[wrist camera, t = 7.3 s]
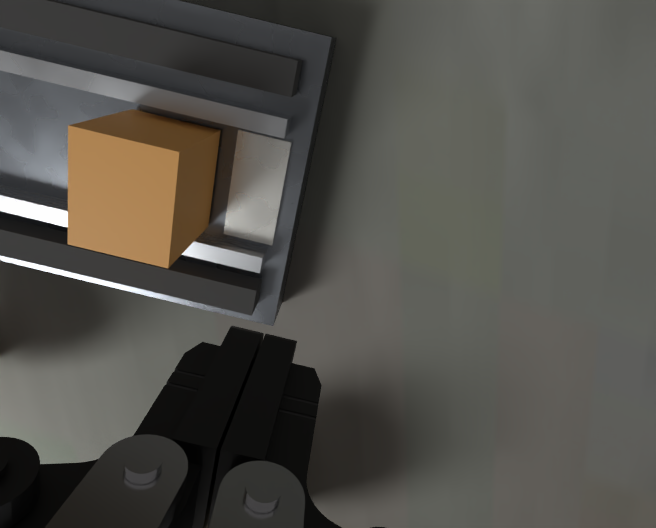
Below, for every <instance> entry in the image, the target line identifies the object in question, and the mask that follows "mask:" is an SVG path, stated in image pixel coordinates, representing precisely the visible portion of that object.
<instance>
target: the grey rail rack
mask: <svg viewBox="0 0 656 528" xmlns="http://www.w3.org/2000/svg"><path fill="white" fill-rule="evenodd" d="M0 27H1V28H5V29H9V30H14V31H18V32H22V33H26V34H30V35H34V36H38V37H43V38H47V39H51V40H55V41H59V42H63V43H68V44H72V45H76V46H80V47H84V48H88V49H92V50H97V51H101V52H105V53H109V54H113V55H117V56H122V57H126V58H130V59H134V60H138V61H142V62H146V63H151V64H155V65H159V66H163V67H167V68H171V69H176V70H180V71H184V72H188V73H192V74H196V75H200V76H205V77H209V78H213V79H217V80H221V81H225V82H230V83H234V84H238V85H242V86H246V87H250V88H254V89H259V90H263V91H267V92H271V93H275V94H279V95H284V96H288V97H293V96H294V95H296V93H297V87H298V82H299V76H300V71H301V65H302V60H300V59H296V58H292V57H288V56H284V55H280V54H276V53H271V52H267V51H263V50H259V49H255V48H251V47H246V46H242V45H238V44H234V43H230V42H226V41H222V40H217V39H213V38H209V37H205V36H201V35H197V34H193V33H188V32H184V31H180V30H176V29H172V28H168V27H163V26H159V25H155V24H151V23H147V22H143V21H139V20H134V19H130V18H126V17H122V16H118V15H114V14H109V13H105V12H101V11H97V10H93V9H89V8H85V7H80V6H76V5H72V4H68V3H64V2H60V1H56V0H0ZM0 255H1V256H5V257H9V258H13V259H17V260H21V261H26V262H30V263H34V264H38V265H42V266H46V267H51V268H55V269H59V270H63V271H67V272H71V273H76V274H80V275H84V276H88V277H92V278H96V279H101V280H105V281H109V282H113V283H117V284H121V285H126V286H130V287H134V288H138V289H142V290H146V291H151V292H155V293H159V294H163V295H167V296H171V297H176V298H180V299H184V300H188V301H192V302H196V303H201V304H205V305H209V306H213V307H217V308H221V309H226V310H230V311H234V312H238V313H242V314H246V315H251V316H252V314H253V312H254V310H255V308H256V306H257V304H258V299H259V294H260V289H261V283H262V279H259V278H254V277H250V276H246V275H242V274H238V273H234V272H230V271H225V270H221V269H217V268H213V267H209V266H205V265H200V264H196V263H192V262H188V261H184V260H180V259H177V260H176V261H175V262H174V263H173V264H172V265H171V266H170V267H169V268H164V267H160V266H156V265H152V264H147V263H143V262H139V261H135V260H131V259H127V258H122V257H118V256H114V255H110V254H106V253H102V252H97V251H93V250H89V249H85V248H81V247H77V246H72V245H68V233H67V232H63V231H59V230H55V229H50V228H46V227H42V226H38V225H34V224H30V223H25V222H21V221H17V220H13V219H9V218H5V217H0Z"/></svg>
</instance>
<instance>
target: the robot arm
mask: <svg viewBox="0 0 656 528" xmlns="http://www.w3.org/2000/svg"><path fill="white" fill-rule="evenodd" d="M296 343H297V341H294V340H290V339H286V338H282V337H278V336H273V335H269V334H265V336H264V339H263V333H260V332H256V331H252V330H248V329H244V328H239V327H235V326H231V327H230V329H229V331H228V333H227V335H226V337H225V339H224V341H223V343H222V345H221V346H217V345H213V344H209V343H205V342H202V343H200V344H198V345H197V346H195V347H194V348H192V349H191V350H189V351H187V352H186V353H185V354H184V355H183V357H182V359H181V360H180V362H179V363H178V365H177V367H176V368H175V371H174V372H173V373H172V375H171V376H170V378H169V379H168V381H167V384H166V385H165V386H164V387H163V389H162V391H161V392H160V394H159V395H158V397H157V399H156V400H155V402H154V403H153V405H152V407H151V408H150V410H149V412H148V413H147V415H146V416H145V418H144V420H143V421H142V423H141V424H140V426H139V428H138V429H137V431H136V432H135V434H134V435H133V436H131V437H128V438H125V439H123V440H120V441H118V442H117V443H115V444H113V445H112V446H111V447H109V448H108V449H107V450H106V451H105V452H104V453H103V454H102V455H101V457H100V458H99V459H97V460H93V461H88V462H81V463H63V464H40V460H39V455H38V453H37V451H36V450H35V449H34V447H32V446H31V445H30V444H29V443H27V442H25V441H23V440H19V439H16V438H10V437H0V528H206V527H207V528H341V527H340V526H338V525H336V524H334V523H333V522H331V521H330V520H328V519H327V518H326V517H325V516H324V515H323V514H321V512H320V511H319V510H318V509H317V508H316V506H315V505H314V503H313V502H312V500H311V498H310V496H309V493H308V490H307V484H306V478H307V470H308V464H309V458H310V452H311V446H312V440H313V433H314V427H315V420H316V415H317V409H318V403H319V397H320V391H321V383H320V381H319V378H318V376H317V373H316V371H315V369H314V368H310V367H306V366H302V365H297V364H293V363H292V361H293V357H294V352H295V348H296ZM207 524H208V525H207ZM372 528H385V527H372Z"/></svg>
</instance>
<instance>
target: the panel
mask: <svg viewBox="0 0 656 528" xmlns="http://www.w3.org/2000/svg"><path fill="white" fill-rule="evenodd" d="M56 1H60V2H64V3H68V4H72V5H76V6H80V7H85V8H89V9H93V10H97V11H101V12H105V13H109V14H114V15H118V16H122V17H126V18H130V19H134V20H139V21H143V22H147V23H151V24H155V25H159V26H163V27H168V28H172V29H176V30H180V31H184V32H188V33H193V34H197V35H201V36H205V37H209V38H213V39H217V40H222V41H226V42H230V43H234V44H238V45H242V46H246V47H251V48H255V49H259V50H263V51H267V52H271V53H276V54H280V55H284V56H288V57H292V58H296V59H300V60H302V65H301V71H300V76H299V82H298V87H297V93H296V95H294V96H293V97H288V96H284V95H279V94H275V93H271V92H267V91H263V90H259V89H254V88H250V87H246V86H242V85H238V84H234V83H230V82H225V81H221V80H217V79H213V78H209V77H205V76H200V75H196V74H192V73H188V72H184V71H180V70H176V69H171V68H167V67H163V66H159V65H155V64H151V63H146V62H142V61H138V60H134V59H130V58H126V57H122V56H117V55H113V54H109V53H105V52H101V51H97V50H92V49H88V48H84V47H80V46H76V45H72V44H68V43H63V42H59V41H55V40H51V39H47V38H43V37H38V36H34V35H30V34H26V33H22V32H18V31H14V30H9V29H5V28H1V27H0V217H5V218H9V219H13V220H17V221H21V222H25V223H30V224H34V225H38V226H42V227H46V228H50V229H55V230H59V231H63V232H67V233H68V125H72V124H75V123H79V122H83V121H87V120H91V119H95V118H99V117H103V116H107V115H111V114H115V113H119V112H123V111H127V110H131V109H134V110H138V111H142V112H146V113H150V114H155V115H159V116H163V117H167V118H171V119H175V120H180V121H184V122H188V123H192V124H196V125H200V126H205V127H209V128H213V129H217V130H221V131H220V139H219V147H218V155H217V163H216V171H215V178H214V186H213V194H212V202H211V210H210V217H209V225H208V227H207V228H206V229H205V230H204V231H203V232H202V234H201V235H200V236H199V237H198V238H197V239H196V240H195V241H194V242H193V243H192V244H191V245H190V246H189V247H188V248H187V249H186V250H185V251H184V252H183V253H182V255H181V256H180V257H179V258H178V259H180V260H184V261H188V262H192V263H196V264H200V265H205V266H209V267H213V268H217V269H221V270H225V271H230V272H234V273H238V274H242V275H246V276H250V277H254V278H259V279H262V283H261V289H260V294H259V299H258V304H257V306H256V308H255V310H254V312H253V314H252V316H251V315H246V314H242V313H238V312H234V311H230V310H226V309H221V308H217V307H213V306H209V305H205V304H201V303H196V302H192V301H188V300H184V299H180V298H176V297H171V296H167V295H163V294H159V293H155V292H151V291H146V290H142V289H138V288H134V287H130V286H126V285H121V284H117V283H113V282H109V281H105V280H101V279H96V278H92V277H88V276H84V275H80V274H76V273H71V272H67V271H63V270H59V269H55V268H51V267H46V266H42V265H38V264H34V263H30V262H26V261H21V260H17V259H13V258H9V257H5V256H1V255H0V261H4V262H9V263H13V264H17V265H21V266H25V267H29V268H34V269H38V270H42V271H46V272H50V273H54V274H59V275H63V276H67V277H71V278H75V279H79V280H84V281H88V282H92V283H96V284H100V285H104V286H109V287H113V288H117V289H121V290H125V291H129V292H134V293H138V294H142V295H146V296H150V297H154V298H159V299H163V300H167V301H171V302H175V303H179V304H184V305H188V306H192V307H196V308H200V309H204V310H209V311H213V312H217V313H221V314H225V315H229V316H234V317H238V318H242V319H246V320H250V321H254V322H259V323H263V324H267V325H271V326H273V325H274V322H275V320H276V317H277V315H278V312H279V309H280V307H281V304H282V300H283V295H284V290H285V285H286V280H287V275H288V271H289V266H290V261H291V256H292V251H293V246H294V242H295V237H296V232H297V227H298V222H299V217H300V212H301V208H302V203H303V198H304V193H305V188H306V183H307V179H308V174H309V169H310V164H311V159H312V154H313V149H314V145H315V140H316V135H317V130H318V125H319V120H320V116H321V111H322V106H323V101H324V96H325V91H326V86H327V82H328V77H329V72H330V67H331V62H332V57H333V53H334V48H335V43H336V38H334V37H329V36H325V35H321V34H317V33H313V32H309V31H304V30H300V29H296V28H292V27H288V26H284V25H280V24H275V23H271V22H267V21H263V20H259V19H255V18H251V17H246V16H242V15H238V14H234V13H230V12H226V11H221V10H217V9H213V8H209V7H205V6H201V5H197V4H192V3H188V2H184V1H180V0H56Z"/></svg>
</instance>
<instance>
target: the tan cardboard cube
mask: <svg viewBox="0 0 656 528" xmlns="http://www.w3.org/2000/svg"><path fill="white" fill-rule="evenodd" d="M220 131H221V130H217V129H213V128H209V127H205V126H200V125H196V124H192V123H188V122H184V121H180V120H175V119H171V118H167V117H163V116H159V115H155V114H150V113H146V112H142V111H138V110H134V109H131V110H127V111H123V112H119V113H115V114H111V115H107V116H103V117H99V118H95V119H91V120H87V121H83V122H79V123H75V124H72V125H68V245H72V246H77V247H81V248H85V249H89V250H93V251H97V252H102V253H106V254H110V255H114V256H118V257H122V258H127V259H131V260H135V261H139V262H143V263H147V264H152V265H156V266H160V267H164V268H169V267H170V266H171V265H172V264H173V263H174V262H175V261H176V260H177V259H178V258H179V257H180V256H181V255H182V253H183V252H184V251H185V250H186V249H187V248H188V247H189V246H190V245H191V244H192V243H193V242H194V241H195V240H196V239H197V238H198V237H199V236H200V235H201V234H202V232H203V231H204V230H205V229H206V228H207V227H208V225H209V217H210V210H211V202H212V194H213V186H214V178H215V171H216V163H217V155H218V147H219V139H220Z"/></svg>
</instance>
